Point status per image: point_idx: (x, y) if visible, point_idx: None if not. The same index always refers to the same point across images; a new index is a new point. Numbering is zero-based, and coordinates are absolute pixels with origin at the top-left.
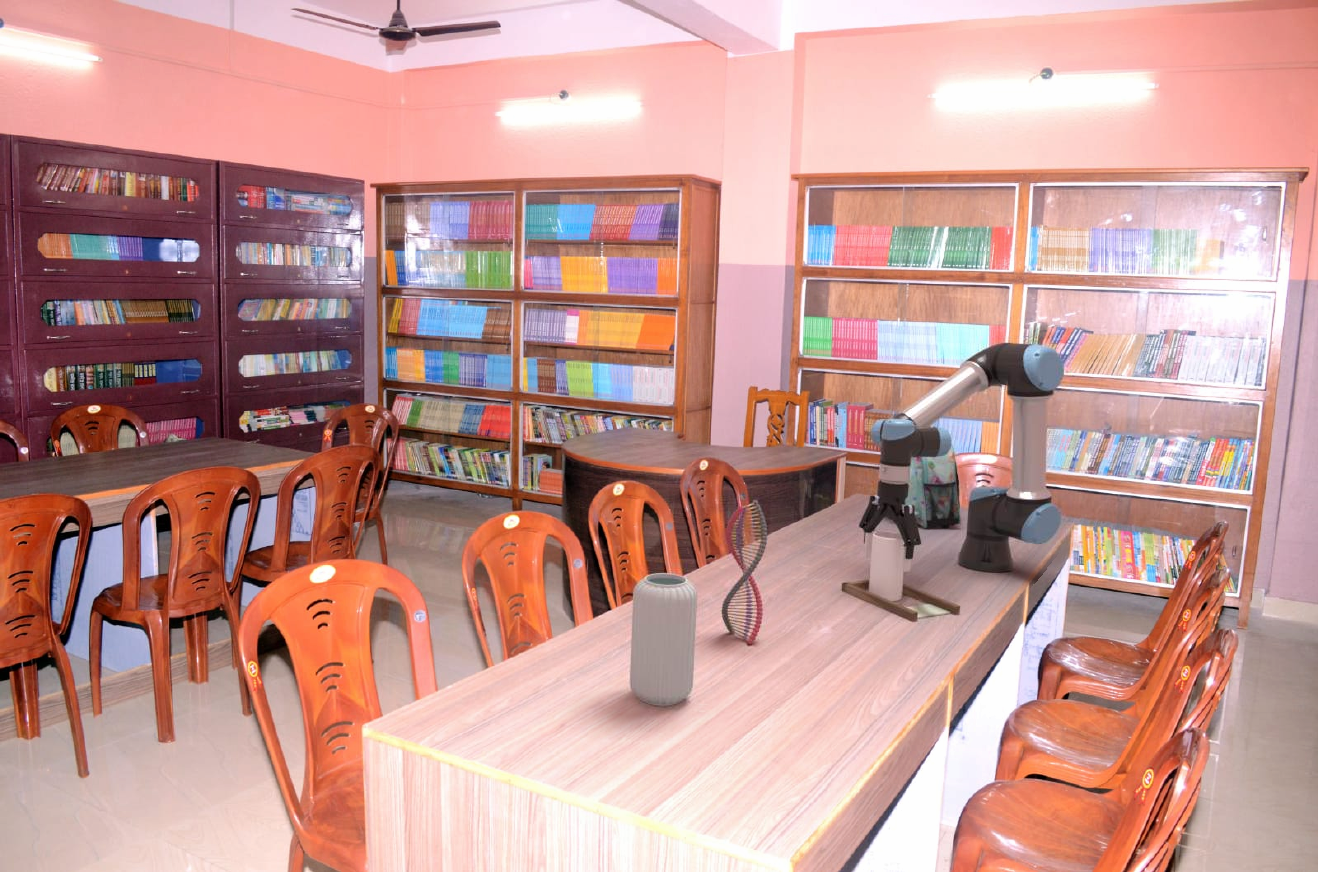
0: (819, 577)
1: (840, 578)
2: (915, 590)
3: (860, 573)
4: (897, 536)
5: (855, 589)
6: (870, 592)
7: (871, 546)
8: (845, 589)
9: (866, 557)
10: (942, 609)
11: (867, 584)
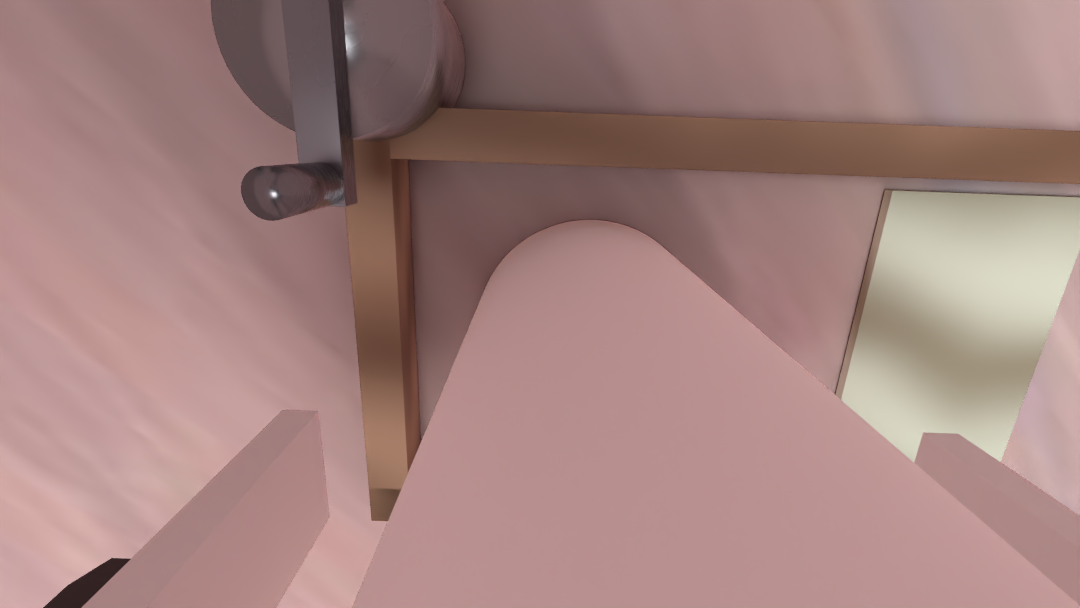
0: (96, 432)
1: (139, 323)
2: (738, 162)
3: (22, 77)
4: (636, 582)
5: None
6: None
7: (245, 558)
8: None
9: (326, 510)
10: (1028, 205)
11: (406, 341)
